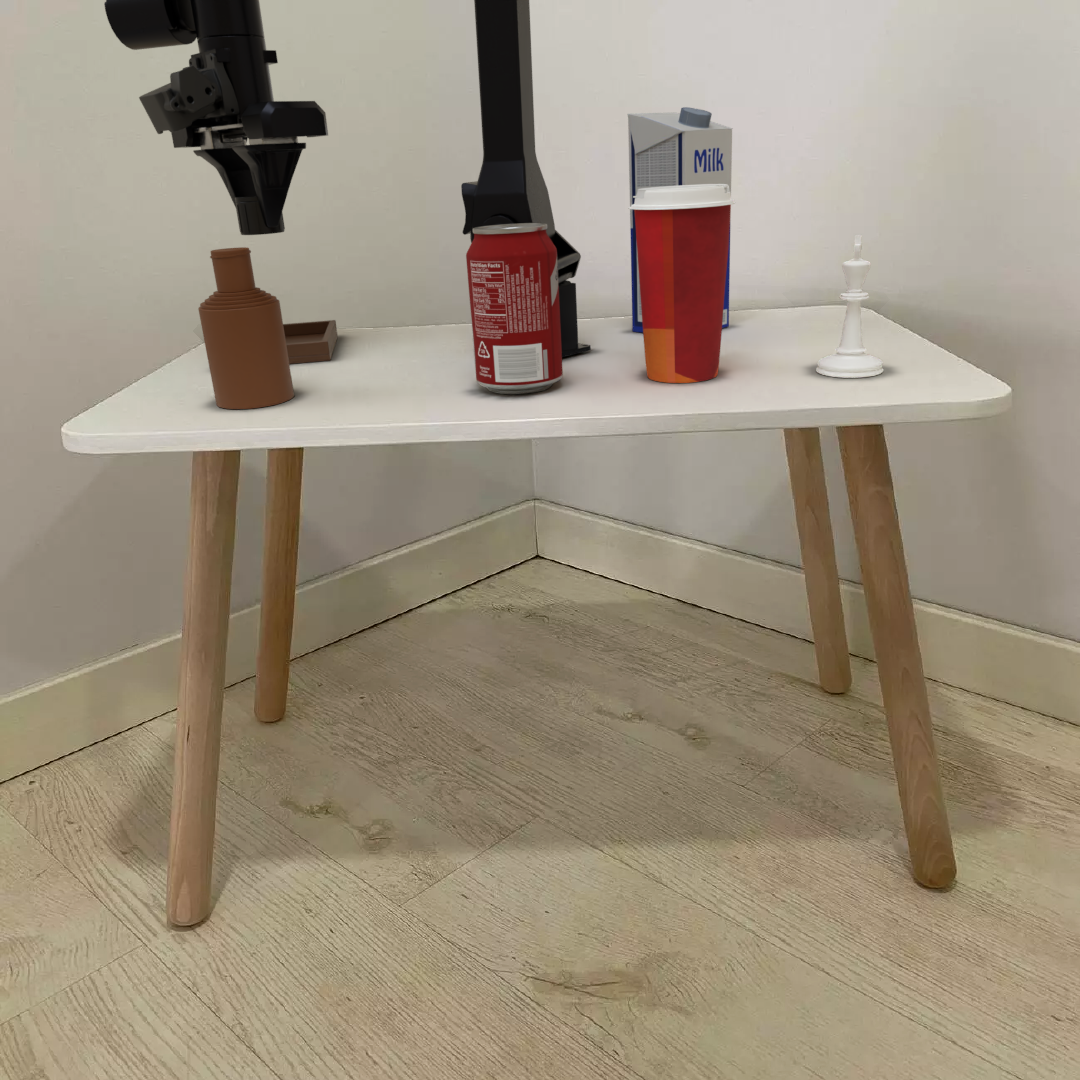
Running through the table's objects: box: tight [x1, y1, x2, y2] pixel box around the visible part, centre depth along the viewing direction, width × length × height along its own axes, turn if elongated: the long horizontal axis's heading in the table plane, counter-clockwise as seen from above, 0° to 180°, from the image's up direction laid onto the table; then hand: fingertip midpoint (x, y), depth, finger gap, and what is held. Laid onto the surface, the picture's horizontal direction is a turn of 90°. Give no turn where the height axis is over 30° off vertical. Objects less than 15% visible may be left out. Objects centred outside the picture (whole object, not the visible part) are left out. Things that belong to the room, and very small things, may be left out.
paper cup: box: [628, 184, 736, 384], centre depth 72 cm, size 8×8×14 cm
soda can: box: [465, 223, 564, 395], centre depth 72 cm, size 7×7×12 cm
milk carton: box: [627, 106, 734, 334], centre depth 90 cm, size 7×7×20 cm
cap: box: [234, 196, 286, 236], centre depth 89 cm, size 4×4×3 cm
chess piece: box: [815, 234, 884, 379], centre depth 71 cm, size 5×5×10 cm
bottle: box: [197, 246, 295, 410], centre depth 73 cm, size 6×6×12 cm
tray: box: [283, 319, 339, 365], centre depth 94 cm, size 13×10×2 cm
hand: (260, 226), depth 89 cm, fingers closed on cap, 4 cm apart
